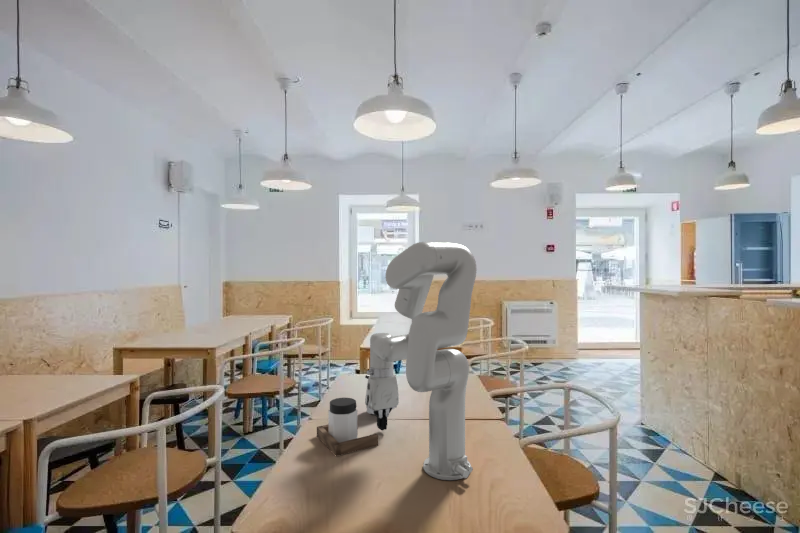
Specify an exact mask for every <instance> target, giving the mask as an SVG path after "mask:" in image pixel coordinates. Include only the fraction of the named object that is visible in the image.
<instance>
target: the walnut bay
mask: <svg viewBox="0 0 800 533" xmlns="http://www.w3.org/2000/svg"><path fill="white" fill-rule="evenodd" d="M358 422H359V421H358V419H357V430H358V428H359V426H358ZM316 437H317V438H318V439H319V440H320V441H321V443H323V445H324V446H325V447H326V448H327V449H328V448H329V449H330V450H331V451H332V452H333V453H334V454H335V455H336V456H335V455H334V454H333V453H332V452H331V451H330V450H329V449H328V450H329V451H330V452H331V453H332V454H333V455H334V456H335V457H338V456H343V455H347V454H351V453H355V452H359V451H362V450H366V449H371V448H374V447H378V446H379V435H378V434H377V433H374V434H370V435H365V436H361V437H357V438H356V439H352V440H348V441H344V442H340V443H339V442H338V441H337V440H336V439H335V438H333V437H332V436H331V435H330V434H329V433H328V424H324V425H319V426H316Z"/></svg>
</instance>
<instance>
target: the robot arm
mask: <svg viewBox="0 0 800 533" xmlns="http://www.w3.org/2000/svg"><path fill="white" fill-rule="evenodd" d="M476 262H477V261H476V259H475V256H474V254H473V253H472V252H471V250H470V249H469V248H468V247H466V246H464V245H462V244H459V243H454V242H445V241H444V242H443V241H441V242H440V241H438V242H437V241H436V242H435V241H418V242H415V243H413V244H411V245H410V246H409V247H407V248H406V249H404V250H403V251H401V252H400V253H399V254H398V255H396V256H395V257H393V258H392V259H391V261H390V262H389V263H388V265H387V268H386V270H385V281H386V284H387V285H388V286H389V287H390V288H391V289H394V290H398V292H397V295H396V298H395V301H394V309H395V311H396V312H398V313H399V314H400V315H402V316H403V317H406V318H408V319H410V320H411V323H410V327H409V331H408V334H402V335H401V334H400V335H394V336H393V335H392V334H390V333H388V332H387V333H386V332H377V333H373V334H371V336H370V339H369V349H370V352H369V359H370V360H369V364H370V366H369V370H367V371H366V375H368V376H370V377H369V378H368V379H367V383H366V392H365V398H366V404H365V407H366V413H367V414H370V415H373V414H375V415H374V416H376V427H377V428H378V429H379V430H380V431H386V430H387V428H388V417H389V415H390V414H391V412H392V410H394V409H397V407H398V405H399V403H400V402H399V401H400V400H399V399H400V398H399V395H400V394H399V384H398V380H397V376H396V375H395V374H394V362H399V361H403V360H406V362H405V376H406V380H407V384H408V385H409V387H410V388H411V390H413V391H415V392H416V393H428V392H431V393H430V396H429V401H428V402H429V403H428V448H429V449H428V456H427V457H426V458H425V460H424V461H423V463H422V465H423V467H422V469H423V470H424V472H425V474H427V475H429V476H430V477H433V478H434V479H437V480H442V481H458V480H461V479H467V478H468V477H469V476H470V474H471V473H472V472H473V470H474V469H473V467H472V465H471V463H470V461H469V460H468V455H466V394H467V393H466V392H467V385H468V380H469V375H470V364H469V361H468V358H467V357H466V355H465V353H463V352H462V351H460V350H458V349H455V348H452V347H455V346H459V345H461V344H463V343H464V342H465V341H466V338H467V336H468V331H469V330H468V329H469V322H470V314H471V306H472V305H471V304H472V295H473V290H474V285H475V281H476V277H477V270H478V269H477V263H476ZM436 275H446V276H447V277H446V279H445V280H444V282H443V283H442V285H441V286H440V289H439V291H438V295H437V296H438V299H437V306H436V309H435V310H433V311H424V312H423V310H424V307H425V304H426V300H427V298H428V295H429V292H430V289H431V286H432V282H433V280H434V276H436ZM450 347H451V348H450Z"/></svg>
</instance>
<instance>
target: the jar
mask: <svg viewBox="0 0 800 533" xmlns="http://www.w3.org/2000/svg"><path fill="white" fill-rule="evenodd" d="M327 413H328V414H327V415H328V419H327V420H328V421H327V422H328V424H327V425H328V433H329V434H330V435H331V436H332V437H333V438H335V439H336V440H337V441H338V442H339V443H340V442H344V441H348V440H352V439H356V438H358V429H357V420H358V409H357V401H356V399H354V398H352V397H337V398H334V399H332V400H330V401H329V409H328V411H327Z"/></svg>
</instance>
